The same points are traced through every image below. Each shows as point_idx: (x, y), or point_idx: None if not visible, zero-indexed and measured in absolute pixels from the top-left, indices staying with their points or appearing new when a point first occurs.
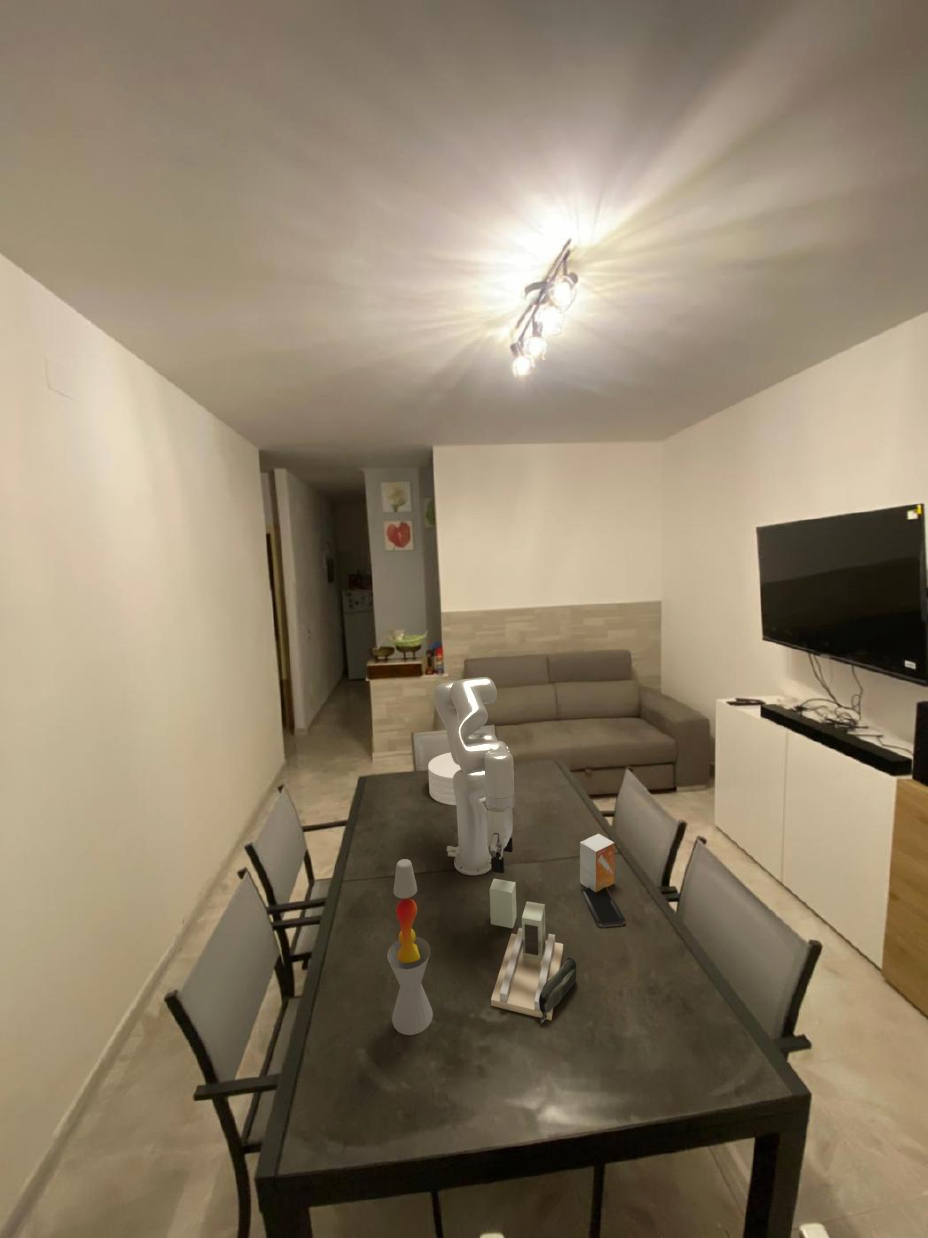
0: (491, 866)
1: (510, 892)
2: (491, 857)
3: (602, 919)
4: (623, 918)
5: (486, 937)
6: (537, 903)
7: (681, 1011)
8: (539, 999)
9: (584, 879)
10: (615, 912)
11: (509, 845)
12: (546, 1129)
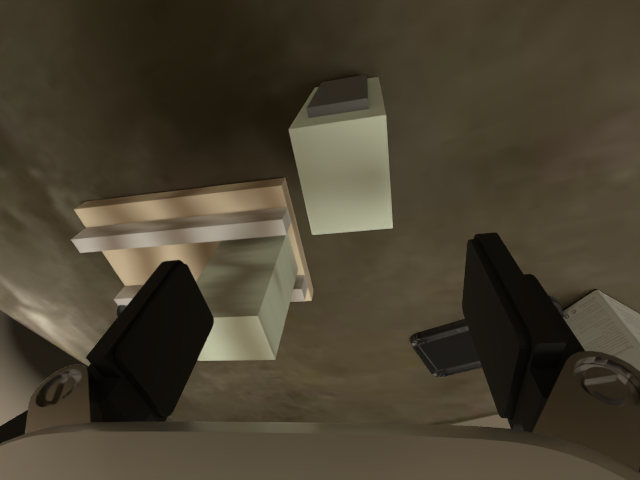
0: (142, 287)
1: (313, 229)
2: (46, 388)
3: (435, 345)
4: (449, 373)
5: (252, 100)
6: (266, 344)
7: (279, 415)
8: (117, 310)
9: (590, 317)
10: (467, 362)
11: (482, 345)
12: (19, 317)
